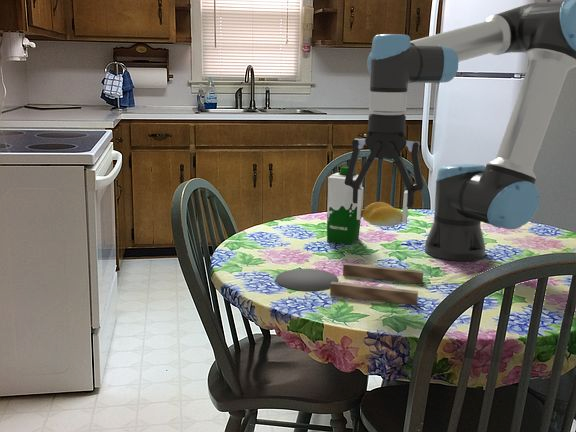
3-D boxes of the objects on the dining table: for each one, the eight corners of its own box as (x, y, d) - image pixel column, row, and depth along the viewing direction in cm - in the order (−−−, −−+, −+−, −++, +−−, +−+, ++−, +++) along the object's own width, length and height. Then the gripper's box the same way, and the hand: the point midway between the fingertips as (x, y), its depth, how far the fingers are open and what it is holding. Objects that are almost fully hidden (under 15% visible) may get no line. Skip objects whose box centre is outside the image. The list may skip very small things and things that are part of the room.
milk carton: (362, 237, 178) (365, 167, 173) (353, 246, 169) (356, 172, 165) (332, 234, 181) (335, 164, 176) (322, 242, 173) (324, 169, 168)
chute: (422, 281, 143) (423, 271, 142) (416, 305, 129) (417, 293, 128) (344, 272, 148) (344, 262, 147) (330, 294, 134) (330, 283, 133)
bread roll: (376, 228, 129) (376, 209, 128) (356, 218, 138) (357, 200, 137) (411, 225, 132) (412, 207, 131) (390, 215, 140) (391, 198, 139)
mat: (343, 273, 147) (343, 272, 147) (330, 294, 134) (330, 292, 134) (286, 267, 151) (286, 266, 151) (267, 286, 138) (267, 285, 138)
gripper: (442, 113, 130) (435, 220, 135) (339, 109, 136) (335, 212, 141) (440, 116, 123) (432, 228, 128) (331, 112, 129) (328, 220, 134)
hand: (381, 220), depth 135 cm, fingers closed on bread roll, 9 cm apart
